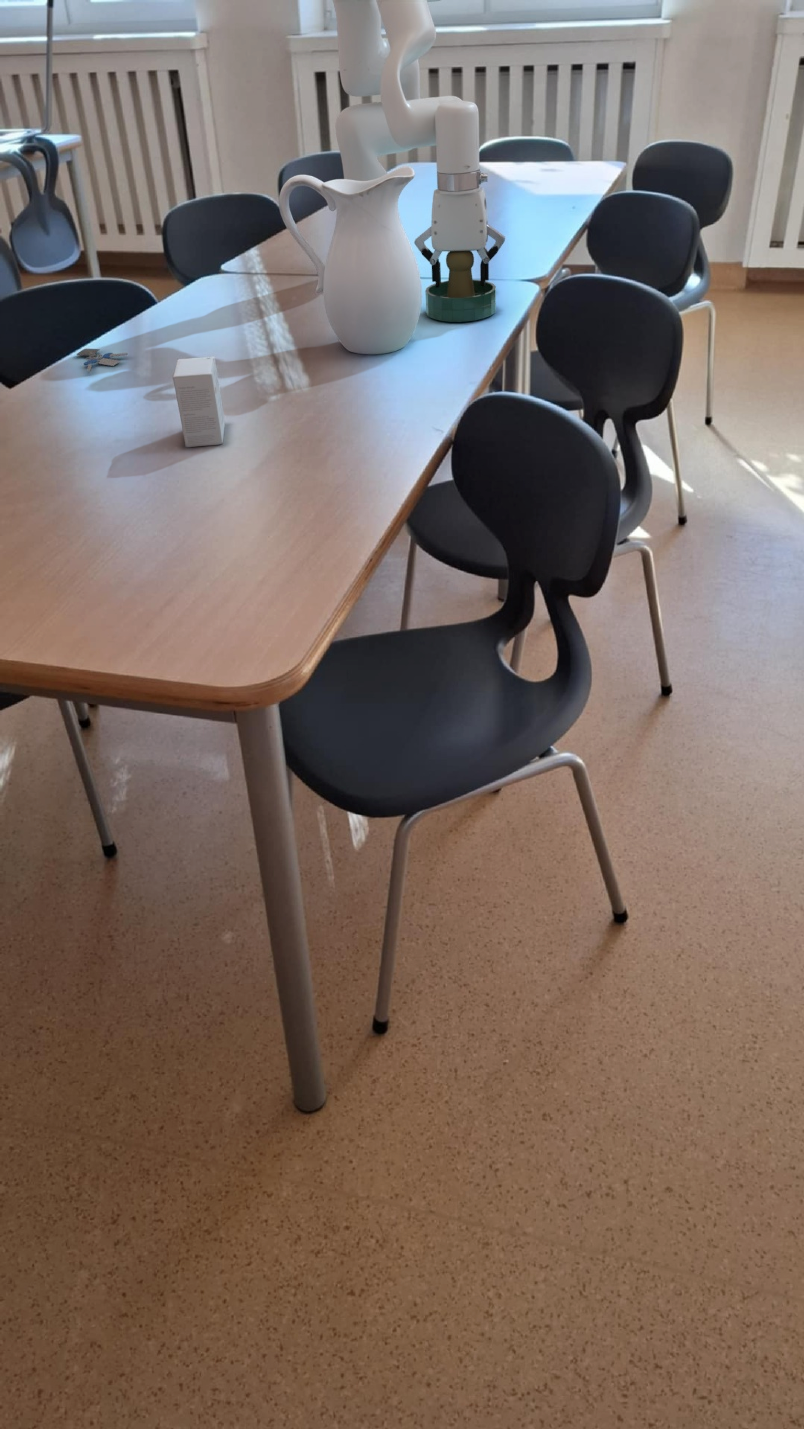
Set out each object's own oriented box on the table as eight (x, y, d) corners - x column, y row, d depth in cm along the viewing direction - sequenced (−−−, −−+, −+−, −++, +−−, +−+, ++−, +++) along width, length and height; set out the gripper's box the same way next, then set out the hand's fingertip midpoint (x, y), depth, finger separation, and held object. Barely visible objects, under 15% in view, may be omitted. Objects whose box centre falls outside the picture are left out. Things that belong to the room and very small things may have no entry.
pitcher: (436, 333, 193) (429, 162, 176) (405, 362, 180) (395, 182, 164) (315, 327, 200) (298, 162, 184) (277, 355, 187) (256, 181, 171)
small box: (189, 428, 161) (176, 358, 155) (226, 425, 161) (215, 355, 155) (184, 448, 155) (171, 376, 148) (223, 445, 155) (211, 373, 149)
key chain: (74, 353, 194) (73, 348, 194) (119, 345, 197) (118, 340, 196) (87, 374, 184) (86, 370, 183) (134, 366, 186) (134, 361, 186)
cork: (474, 316, 199) (473, 253, 192) (442, 316, 200) (440, 254, 194) (479, 307, 204) (478, 245, 197) (448, 307, 205) (446, 246, 198)
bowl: (423, 324, 198) (422, 299, 195) (430, 304, 208) (429, 280, 206) (493, 322, 196) (493, 297, 193) (497, 302, 206) (497, 278, 204)
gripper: (508, 176, 191) (508, 278, 201) (412, 179, 193) (416, 281, 203) (506, 184, 185) (506, 289, 195) (407, 187, 187) (412, 291, 197)
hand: (460, 284), depth 199 cm, fingers open, 7 cm apart
